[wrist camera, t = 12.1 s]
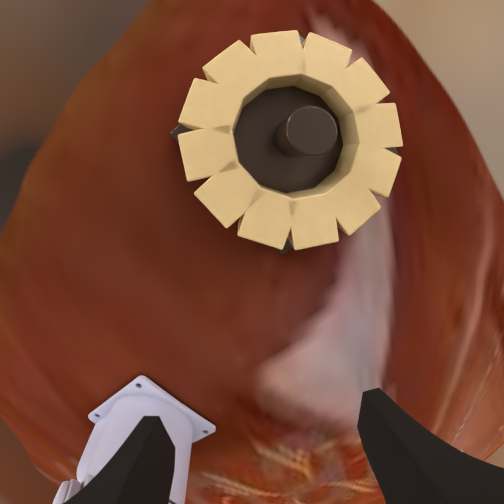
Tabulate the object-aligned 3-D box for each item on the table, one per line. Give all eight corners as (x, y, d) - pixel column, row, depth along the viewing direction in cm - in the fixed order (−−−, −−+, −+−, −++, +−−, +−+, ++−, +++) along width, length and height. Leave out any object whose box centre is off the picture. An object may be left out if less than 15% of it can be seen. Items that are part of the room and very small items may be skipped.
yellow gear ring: (278, 273, 17) (284, 291, 14) (149, 133, 14) (133, 129, 12) (411, 157, 15) (434, 159, 13) (296, 17, 12) (304, -2, 10)
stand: (280, 249, 18) (297, 290, 12) (174, 135, 15) (142, 124, 10) (390, 154, 16) (446, 157, 11) (293, 39, 14) (316, -7, 8)
